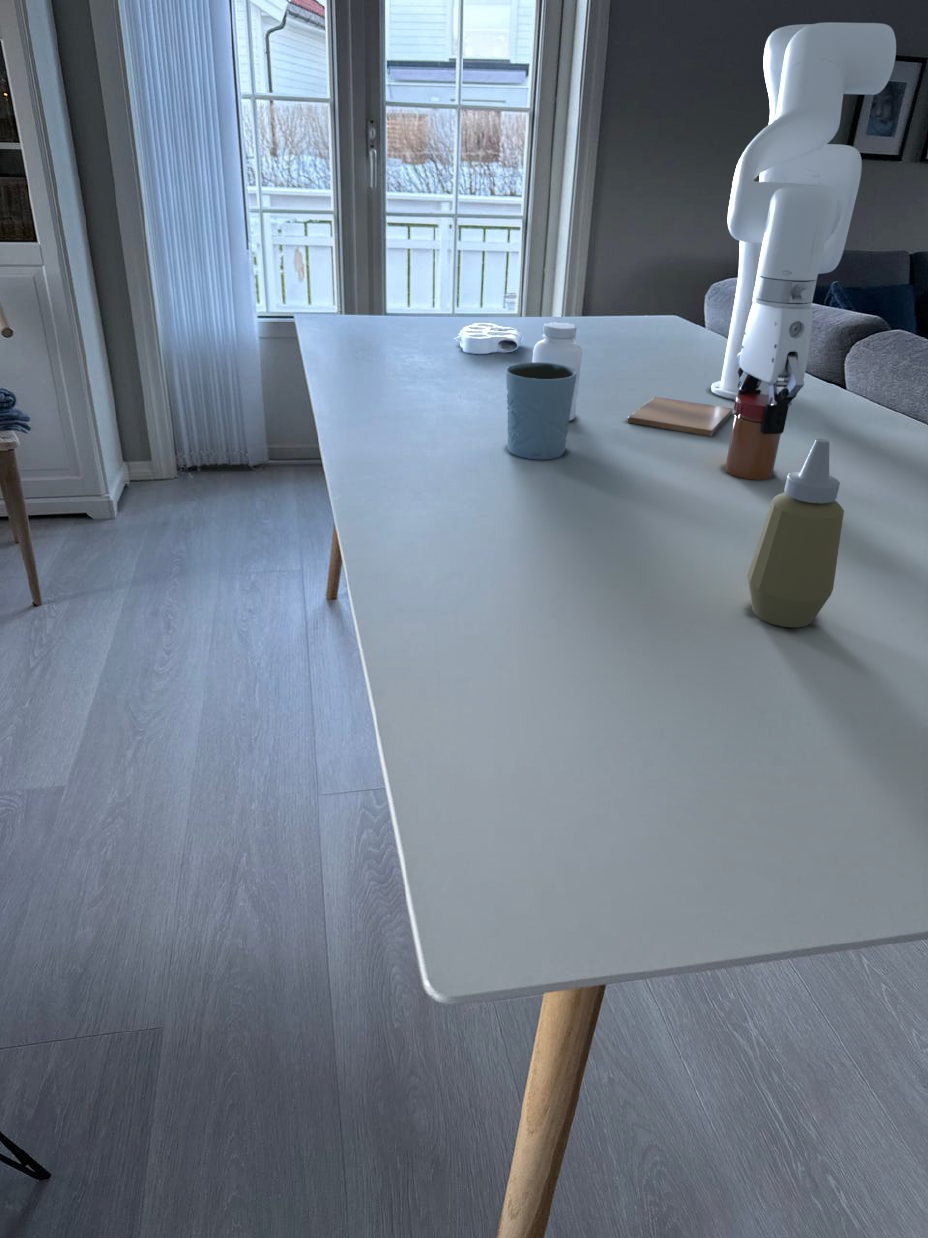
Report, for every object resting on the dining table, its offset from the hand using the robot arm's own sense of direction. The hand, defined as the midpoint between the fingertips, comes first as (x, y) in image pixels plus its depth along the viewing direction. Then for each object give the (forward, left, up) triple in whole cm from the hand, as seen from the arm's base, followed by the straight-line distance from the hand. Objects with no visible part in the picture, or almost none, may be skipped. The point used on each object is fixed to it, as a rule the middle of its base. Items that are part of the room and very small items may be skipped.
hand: (758, 424), depth 126 cm
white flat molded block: (-57, -69, -7) cm, 90 cm away
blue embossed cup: (+8, -30, -7) cm, 32 cm away
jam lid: (0, 0, +3) cm, 3 cm away
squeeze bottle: (+44, +12, -7) cm, 46 cm away
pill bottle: (-11, -35, -7) cm, 37 cm away
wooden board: (-23, -16, -7) cm, 29 cm away
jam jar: (0, 0, -7) cm, 7 cm away
